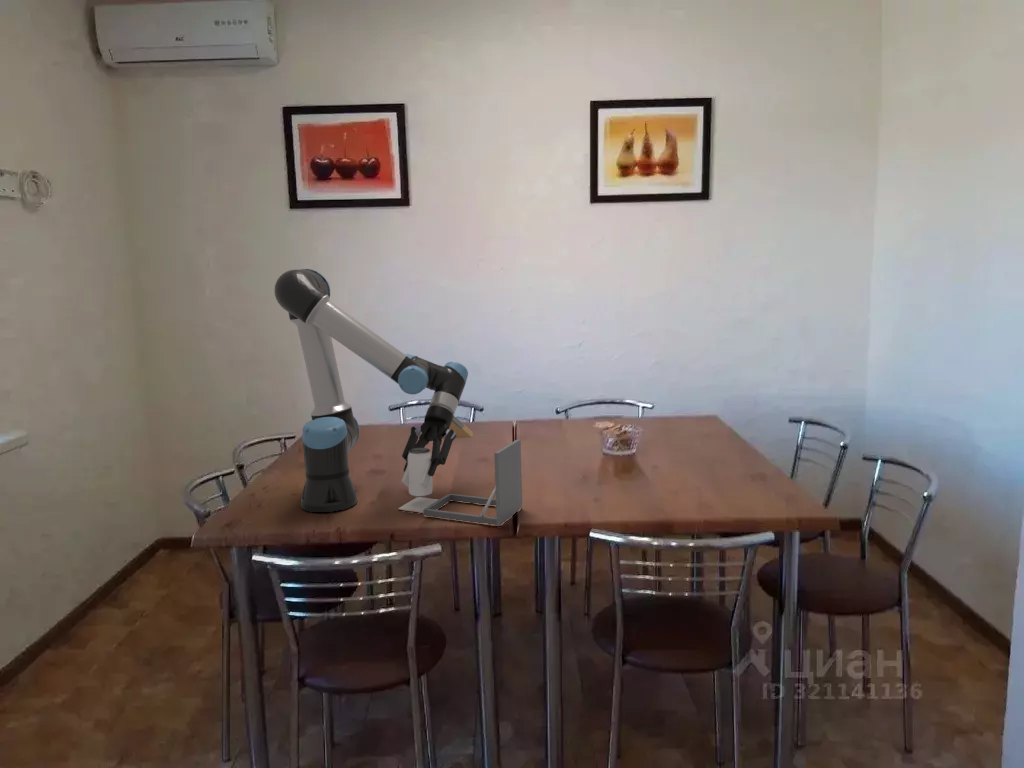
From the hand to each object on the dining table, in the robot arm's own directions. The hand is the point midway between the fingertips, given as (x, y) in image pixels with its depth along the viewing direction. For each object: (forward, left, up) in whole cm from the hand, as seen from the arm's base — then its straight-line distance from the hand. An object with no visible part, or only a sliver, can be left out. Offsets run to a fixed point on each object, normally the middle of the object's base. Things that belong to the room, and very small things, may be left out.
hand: (414, 484), depth 189 cm
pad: (0, +3, -7) cm, 8 cm away
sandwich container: (-31, +78, -8) cm, 84 cm away
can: (0, +4, -4) cm, 5 cm away
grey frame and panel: (+16, +3, -7) cm, 18 cm away
